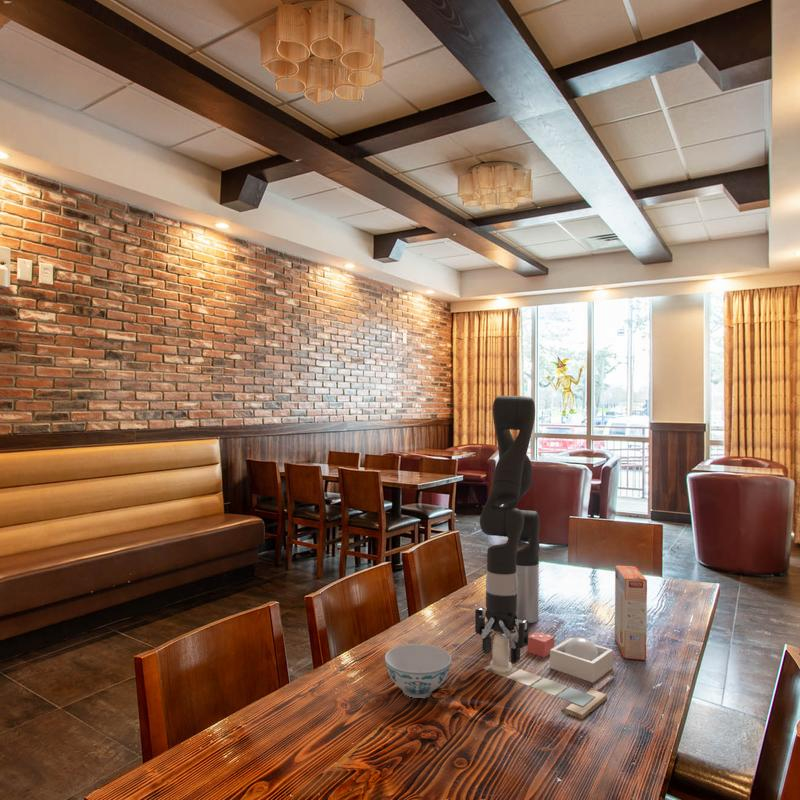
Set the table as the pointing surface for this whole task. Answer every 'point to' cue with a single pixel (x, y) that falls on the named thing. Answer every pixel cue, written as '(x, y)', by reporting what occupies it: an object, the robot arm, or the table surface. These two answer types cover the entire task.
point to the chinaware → (418, 668)
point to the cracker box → (630, 612)
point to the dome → (582, 649)
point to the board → (580, 700)
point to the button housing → (582, 663)
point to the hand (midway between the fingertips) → (500, 657)
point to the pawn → (500, 655)
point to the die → (540, 644)
